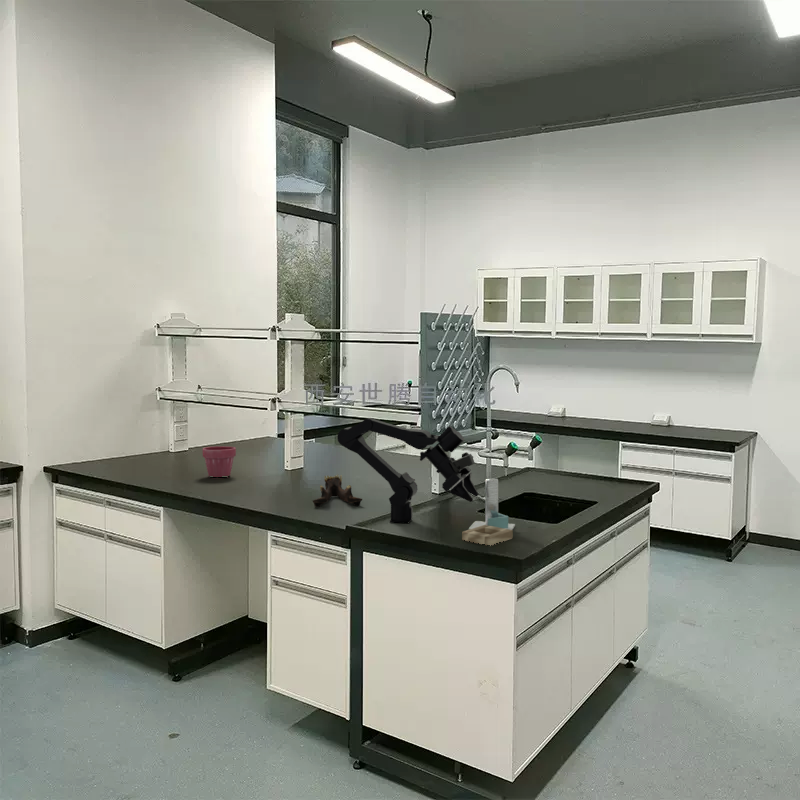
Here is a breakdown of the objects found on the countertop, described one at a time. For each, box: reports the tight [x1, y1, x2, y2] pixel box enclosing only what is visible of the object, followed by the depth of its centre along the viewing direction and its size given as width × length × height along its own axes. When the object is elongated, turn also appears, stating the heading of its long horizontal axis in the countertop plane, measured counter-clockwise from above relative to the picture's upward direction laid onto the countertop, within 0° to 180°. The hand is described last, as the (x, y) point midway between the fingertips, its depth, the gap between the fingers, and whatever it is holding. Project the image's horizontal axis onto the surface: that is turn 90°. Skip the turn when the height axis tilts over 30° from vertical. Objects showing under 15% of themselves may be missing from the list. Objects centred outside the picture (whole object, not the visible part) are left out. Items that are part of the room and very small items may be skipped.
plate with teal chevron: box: [468, 512, 516, 531], centre depth 232 cm, size 13×11×4 cm
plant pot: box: [202, 445, 237, 477], centre depth 321 cm, size 14×14×13 cm
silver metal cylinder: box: [484, 478, 499, 525], centre depth 232 cm, size 4×4×15 cm
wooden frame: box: [461, 525, 514, 547], centre depth 219 cm, size 10×12×2 cm
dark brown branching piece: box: [311, 474, 363, 508], centre depth 272 cm, size 17×25×10 cm
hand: (474, 498), depth 234 cm, fingers open, 9 cm apart
